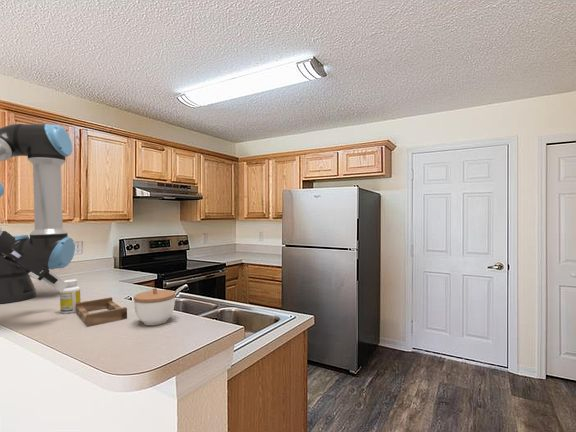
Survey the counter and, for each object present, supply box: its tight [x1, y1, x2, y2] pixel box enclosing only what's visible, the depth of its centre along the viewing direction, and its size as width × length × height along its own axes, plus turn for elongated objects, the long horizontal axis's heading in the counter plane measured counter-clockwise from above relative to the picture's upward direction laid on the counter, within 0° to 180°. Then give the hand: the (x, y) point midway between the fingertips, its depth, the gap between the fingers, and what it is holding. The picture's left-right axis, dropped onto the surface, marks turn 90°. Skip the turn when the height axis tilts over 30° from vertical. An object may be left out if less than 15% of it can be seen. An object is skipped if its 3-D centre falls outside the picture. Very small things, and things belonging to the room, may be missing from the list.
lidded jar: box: [133, 287, 176, 326], centre depth 93 cm, size 11×11×9 cm
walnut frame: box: [75, 296, 128, 327], centre depth 101 cm, size 18×10×3 cm, turn 41°
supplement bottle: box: [59, 278, 82, 315], centre depth 106 cm, size 5×5×10 cm
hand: (57, 285), depth 102 cm, fingers open, 13 cm apart
